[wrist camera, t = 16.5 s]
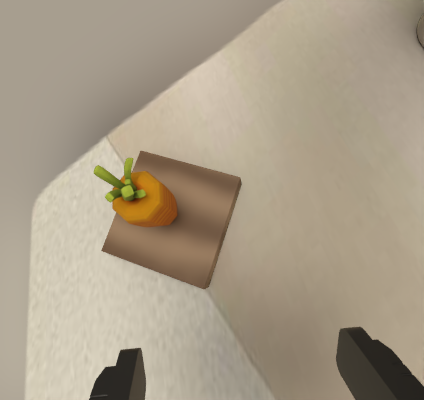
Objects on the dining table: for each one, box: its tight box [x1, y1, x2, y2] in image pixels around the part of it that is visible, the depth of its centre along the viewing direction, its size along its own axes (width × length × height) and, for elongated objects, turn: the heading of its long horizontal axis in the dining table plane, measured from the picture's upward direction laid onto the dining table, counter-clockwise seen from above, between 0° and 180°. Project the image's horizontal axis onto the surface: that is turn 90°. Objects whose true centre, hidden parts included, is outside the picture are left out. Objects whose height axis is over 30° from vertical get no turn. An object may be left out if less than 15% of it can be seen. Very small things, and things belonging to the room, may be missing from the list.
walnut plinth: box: [102, 151, 241, 289], centre depth 36 cm, size 14×14×3 cm
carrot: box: [94, 158, 177, 227], centre depth 27 cm, size 5×5×15 cm
